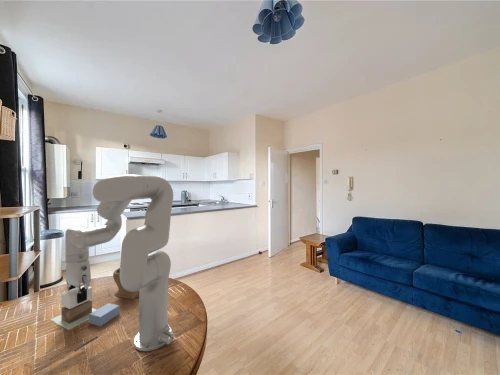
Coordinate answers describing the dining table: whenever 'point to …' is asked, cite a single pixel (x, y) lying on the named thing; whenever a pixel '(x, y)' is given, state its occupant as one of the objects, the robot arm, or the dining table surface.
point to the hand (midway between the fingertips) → (77, 299)
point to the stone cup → (122, 291)
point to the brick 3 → (103, 314)
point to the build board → (73, 324)
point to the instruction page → (85, 344)
